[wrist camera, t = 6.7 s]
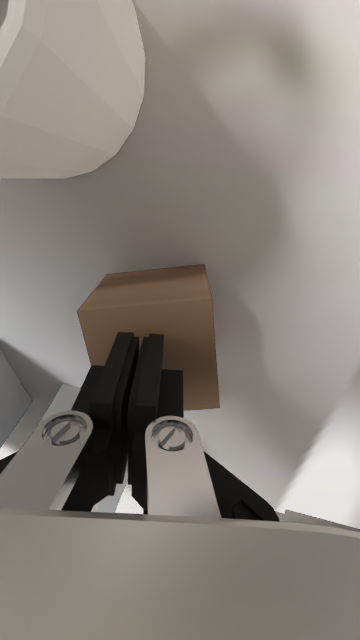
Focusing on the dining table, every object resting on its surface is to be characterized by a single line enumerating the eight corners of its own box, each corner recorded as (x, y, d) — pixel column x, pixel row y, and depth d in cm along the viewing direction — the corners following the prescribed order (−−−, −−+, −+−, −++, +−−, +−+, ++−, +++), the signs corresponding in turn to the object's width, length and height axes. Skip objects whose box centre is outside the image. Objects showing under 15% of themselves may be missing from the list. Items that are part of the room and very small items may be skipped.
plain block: (107, 273, 16) (77, 311, 12) (204, 263, 16) (211, 297, 11) (124, 357, 18) (104, 416, 14) (211, 349, 18) (219, 407, 13)
